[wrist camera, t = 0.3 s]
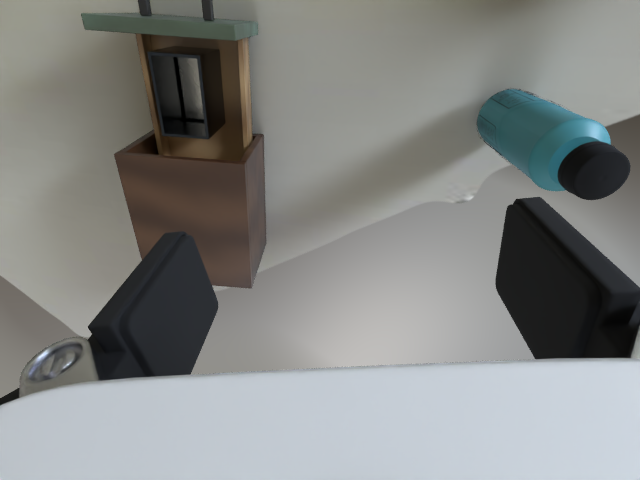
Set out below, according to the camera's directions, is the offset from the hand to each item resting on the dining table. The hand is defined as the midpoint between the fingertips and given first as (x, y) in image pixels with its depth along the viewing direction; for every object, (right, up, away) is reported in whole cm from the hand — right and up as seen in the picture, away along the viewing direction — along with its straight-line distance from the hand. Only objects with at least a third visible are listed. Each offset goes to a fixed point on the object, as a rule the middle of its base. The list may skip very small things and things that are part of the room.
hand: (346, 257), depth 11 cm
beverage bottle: (+21, +16, +32) cm, 41 cm away
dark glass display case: (-15, +18, +30) cm, 38 cm away
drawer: (-14, +19, +31) cm, 39 cm away
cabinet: (-15, +8, +39) cm, 43 cm away
